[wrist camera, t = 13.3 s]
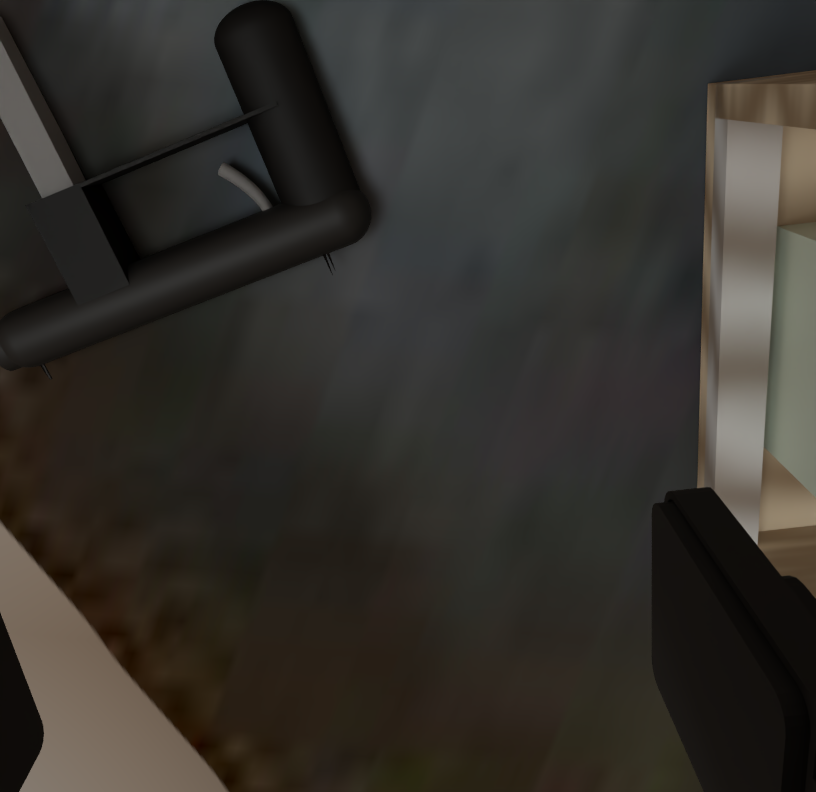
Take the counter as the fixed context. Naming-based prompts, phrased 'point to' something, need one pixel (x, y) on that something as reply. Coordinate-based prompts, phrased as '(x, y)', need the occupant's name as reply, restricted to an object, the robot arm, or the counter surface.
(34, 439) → the counter surface
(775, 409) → the door panel
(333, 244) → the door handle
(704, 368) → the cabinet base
